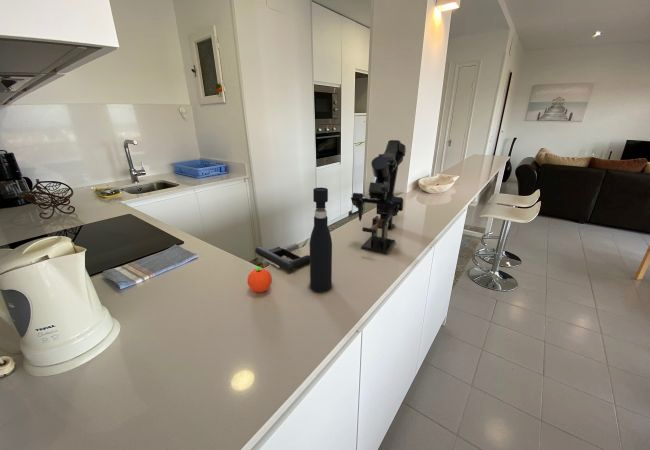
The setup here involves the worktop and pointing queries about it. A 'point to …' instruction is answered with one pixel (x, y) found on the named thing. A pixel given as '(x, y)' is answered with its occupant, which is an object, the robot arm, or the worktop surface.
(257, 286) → the clementine
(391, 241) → the bracket
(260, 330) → the worktop surface
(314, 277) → the black bottle
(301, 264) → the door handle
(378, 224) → the lever
